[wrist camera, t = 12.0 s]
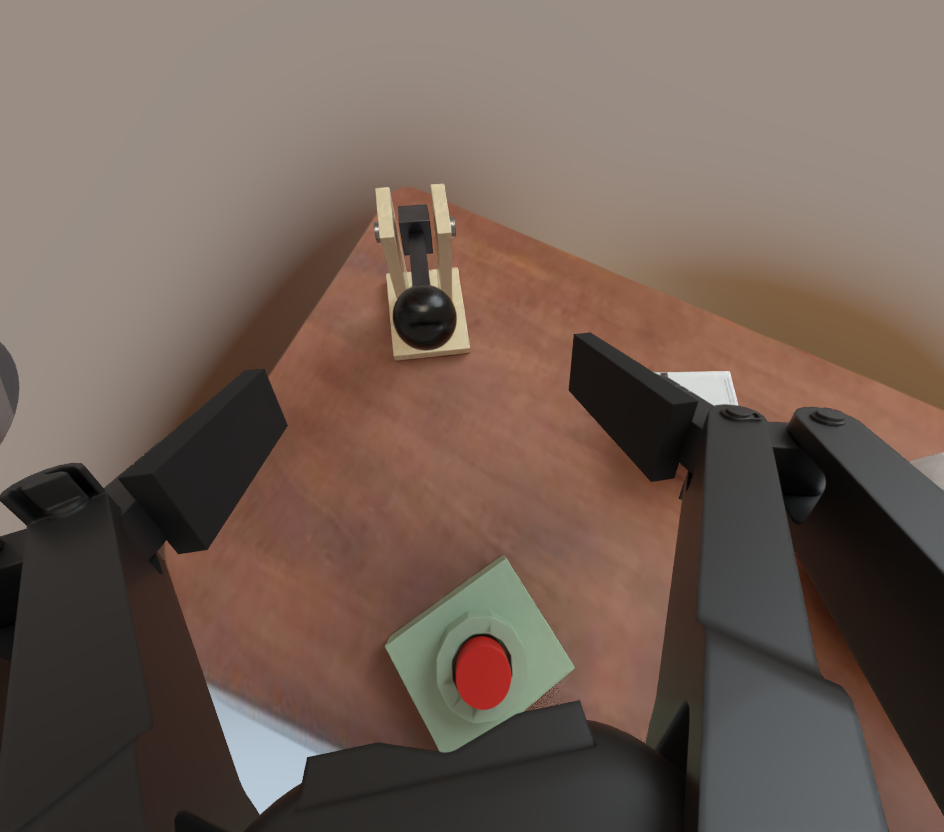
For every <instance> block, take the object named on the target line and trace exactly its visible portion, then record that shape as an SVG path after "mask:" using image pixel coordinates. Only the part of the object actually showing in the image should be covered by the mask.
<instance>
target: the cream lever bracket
mask: <svg viewBox="0 0 944 832" xmlns="http://www.w3.org/2000/svg"><path fill="white" fill-rule="evenodd" d="M375 189H376V202H377V213H378V222H374V231H375V236H376V240H377V243H381V245H382V248H383V252H384V255H385V259H386V262H387V266H388V270H389V274H386V279H387V290H388V301H389V312H390V323H391V334H392V345H393V356H394V358H395V361H398V360H408V359H417V358H426V357H435V356H445V355H454V354H463V353H470V344H469V338H468V331H467V325H466V318H465V312H464V305H463V299H462V292H461V286H460V279H459V273H458V268H452V238H454V237H456V228H455V219H454V217H449V212H448V206H447V199H446V193H445V186H444V184H432V185H431V197H432V210H433V223H434V237H435V250H436V264H437V269H436V270H429V277H430V285H432V286H435V287H437V288H439V289H441V290H442V291H444V292H445V293H446V294H447V295H448V296H449V297H450V299H451V300H452V302H453V304H454V306H455V309H456V314H457V324H456V328H455V331H454V333H453V335H452V337H451V338H450V340H449V341H448V342H447V343H446V344H444V345H443V346H442V347H440V348H438V349H435V350H430V351H422V350H417V349H414V348H412V347H410V346H409V345H407V344H406V343H404V342H403V341H402V340H401V338H400V337H399V336H398V334H397V332H396V330H395V328H394V324H393V308H394V305H395V302H396V301H397V299H398V297H399V296H400V295H401V294H402V293H403V292H404V291H405V290H406V289H408V288H410V287H412V276H411V272H407V271H406V267H405V262H404V257H403V252H402V247H401V242H400V237H399V233H398V228H397V223H396V218H395V213H394V208H393V203H392V199H391V194H390V189H389V187H385V188H375Z"/></svg>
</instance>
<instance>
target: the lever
mask: <svg viewBox="0 0 944 832" xmlns="http://www.w3.org/2000/svg"><path fill="white" fill-rule="evenodd" d="M398 215H399V227H400V233H401V239H402V245H403V250H404V255H405V256H406V255H410V263H411V276H412V287H410V288H408V289H406V290H405V291H404V292H403V293H402V294H401V295H400V296H399V297H398V299H397V301H396V302H395V305H394V308H393V324H394V328H395V330H396V332H397V334H398V336H399V337H400V338H401V340H402V341H403V342H404V343H406V344H407V345H409V346H410V347H412V348H414V349H417V350H422V351H430V350H435V349H438V348H440V347H442V346H443V345H444V344H446V343H447V342H448V341H449V340H450V338H451V337H452V335H453V333H454V331H455V328H456V324H457V314H456V309H455V306H454V304H453V302H452V300H451V299H450V297H449V296H448V295H447V294H446V293H445V292H444V291H442V290H441V289H439V288H437V287H435V286H432V285H430V277H429V270H428V262H427V255H426V254H430V253H433V248H432V238H431V228H430V219H429V213H428V207H427V205H411V206H399V207H398Z"/></svg>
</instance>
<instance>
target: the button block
mask: <svg viewBox="0 0 944 832" xmlns="http://www.w3.org/2000/svg"><path fill="white" fill-rule="evenodd" d="M479 636H486V637H490V638H492V639H494V640H495V641H497V642H498V643H499V644H500V645H501V646H502V648H503V650H504V651H505V654H506V657H507V660H508V662H509V665H510V669H511V684H510V688H509V691H508V693H507V695H506V697H505V698H504V700H503V701H502V702H501V703H500V704H498V705H497V706H495V707H494V708H491V709H487V710H480V709H475V708H473V707H471V706H470V705H468V704H467V703H466V702H465V701H464V700H463V699H462V697H461V696H460V694H459V692H458V689H457V685H456V660H457V656H458V653H459V651H460V649H461V648H462V646H463V645H464V644H465V643H466V642H467V641H469V640H470V639H472V638H475V637H479ZM385 648H386V650H387V652H388V654H389V656H390V658H391V660H392V662H393V664H394V665H395V667H396V669H397V671H398V673H399V675H400V677H401V679H402V681H403V683H404V685H405V686H406V688H407V690H408V692H409V694H410V696H411V698H412V700H413V702H414V704H415V706H416V707H417V709H418V711H419V713H420V715H421V717H422V719H423V721H424V723H425V725H426V727H427V728H428V730H429V732H430V734H431V736H432V738H433V740H434V742H435V744H436V746H437V748H438V749H439V751H440V752H451V751H454V750H456V749H458V748H460V747H461V746H463V745H465V744H466V743H468V742H470V741H471V740H473V739H475V738H476V737H478V736H480V735H481V734H483V733H485V732H486V731H488V730H490V729H491V728H493V727H495V726H496V725H498V724H500V723H501V722H503V721H505V720H506V719H508V718H510V717H512V716H513V715H515V714H517V713H521V712H523V711H524V710H526V709H527V708H528V707H529V706H530V705H532V704H533V703H534V702H535V701H536V700H537V699H539V698H540V697H541V696H542V695H543V694H545V693H546V692H547V691H548V690H549V689H551V688H552V687H553V686H554V685H555V684H557V683H558V682H559V681H560V680H561V679H563V678H564V677H565V676H566V675H567V674H568V673H570V672H571V671H572V670H573V669H574V668H575V666H574V665H573V663H572V662H571V660H570V659H569V657H568V655H567V654H566V652H565V651H564V649H563V647H562V646H561V644H560V643H559V641H558V639H557V638H556V636H555V635H554V633H553V631H552V630H551V628H550V627H549V625H548V624H547V622H546V620H545V619H544V617H543V616H542V614H541V612H540V611H539V609H538V608H537V606H536V604H535V603H534V601H533V600H532V598H531V597H530V595H529V593H528V592H527V590H526V589H525V587H524V585H523V584H522V582H521V581H520V579H519V577H518V576H517V574H516V573H515V571H514V570H513V568H512V566H511V565H510V563H509V562H508V560H507V559H506V557H505V556H504V555H501V556H500V557H498V558H497V559H496V560H494V561H493V562H492V563H490V564H489V565H487V566H486V567H485V568H483V569H482V570H480V571H479V572H478V573H476V574H475V575H474V576H472V577H471V578H469V579H468V580H467V581H465V582H464V583H462V584H461V585H460V586H458V587H457V588H456V589H454V590H453V591H451V592H450V593H449V594H447V595H446V596H444V597H443V598H442V599H440V600H439V601H438V602H436V603H435V604H433V605H432V606H431V607H429V608H428V609H426V610H425V611H424V612H422V613H421V614H420V615H418V616H417V617H415V618H414V619H413V620H411V621H410V622H409V623H407V624H406V625H404V626H403V627H402V628H400V629H399V630H397V631H396V632H395V633H393V634H392V635H391V636H390V637H389V639H388V641H387V643H386V645H385Z"/></svg>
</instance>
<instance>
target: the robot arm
mask: <svg viewBox="0 0 944 832" xmlns="http://www.w3.org/2000/svg"><path fill="white" fill-rule="evenodd" d="M569 391H570V392H571V393H572V395H573V396H574V397H575V398H576V399H577V400H578V401H579V402H580V403H581V405H582V406H583V407H584V408H585V409H586V410H587V411H588V412H589V413H590V415H591V416H592V417H593V418H594V419H595V420H596V421H597V422H598V423H599V425H600V426H601V427H602V428H603V429H604V430H605V431H606V432H607V433H608V435H609V436H610V437H611V438H612V439H613V440H614V441H615V442H616V443H617V445H618V446H619V447H620V448H621V449H622V450H623V451H624V452H625V453H626V455H627V456H628V457H629V458H630V459H631V460H632V461H633V462H634V463H635V464H636V466H637V467H638V468H639V469H640V470H641V471H642V472H643V473H644V474H645V476H646V477H647V478H648V479H649V480H650V481H651V482H653V481H660V480H666V479H673V478H674V477H675V474H676V471H677V468H678V464H679V463H681V464H682V465H683V466H684V467H685V468H686V469H687V470H688V472H687V475H686V478H685V481H684V484H683V487H682V490H681V493H680V496H679V499H682V505H681V513H680V520H679V528H678V536H677V543H676V551H675V559H674V566H673V574H672V582H671V589H670V597H669V604H668V612H667V620H666V627H665V635H664V643H663V650H662V658H661V666H660V673H659V681H658V688H657V695H656V700H655V705H654V709H653V713H652V717H651V720H650V724H649V729H648V733H647V738H646V744H645V743H644V742H642V741H640V740H639V739H637V738H635V737H634V736H632V735H630V734H628V733H626V732H624V731H621V730H619V729H617V728H615V727H613V726H609V725H606V724H603V723H599V722H596V721H590V720H586V718H585V715H584V712H583V709H582V706H581V703H580V700H579V701H574V702H569V703H564V704H560V705H555V706H550V707H545V708H541V709H536V710H531V711H526V712H521V713H517V714H515V715H513V716H512V717H510V718H508V719H506V720H505V721H503V722H501V723H500V724H498V725H496V726H495V727H493V728H491V729H490V730H488V731H486V732H485V733H483V734H481V735H480V736H478V737H476V738H475V739H473V740H471V741H470V742H468V743H466V744H465V745H463V746H461V747H460V748H458V749H456V750H454V751H451V752H437V751H430V750H424V749H417V748H410V747H404V746H397V745H390V744H384V743H373V744H368V745H364V746H359V747H354V748H349V749H344V750H340V751H335V752H330V753H325V754H321V755H316V756H312V757H307V761H306V766H305V770H304V776H303V780H302V783H301V784H299V785H298V786H296V787H295V788H293V789H292V790H290V791H289V792H287V793H286V794H285V795H283V796H282V797H281V798H279V799H278V800H276V801H275V802H274V803H273V804H272V805H271V806H270V807H268V809H266V810H265V811H264V812H263V813H262V814H260V815H259V813H258V811H257V810H256V808H255V807H254V805H253V804H252V802H251V801H250V799H249V798H248V796H247V795H246V793H245V791H244V789H243V787H242V785H241V783H240V780H239V778H238V775H237V772H236V769H235V766H234V763H233V760H232V757H231V754H230V752H229V748H228V745H227V743H226V740H225V737H224V734H223V731H222V728H221V725H220V722H219V719H218V717H217V713H216V710H215V707H214V705H213V701H212V698H211V696H210V693H209V690H208V687H207V684H206V681H205V678H204V675H203V672H202V669H201V666H200V663H199V660H198V657H197V654H196V652H195V649H194V646H193V643H192V640H191V637H190V634H189V631H188V628H187V625H186V622H185V619H184V616H183V613H182V611H181V608H180V605H179V602H178V599H177V596H176V593H175V590H174V587H173V584H172V581H171V578H170V575H169V572H168V570H167V567H166V564H165V561H164V560H163V558H162V557H161V556H160V555H159V554H158V552H157V551H158V550H159V548H160V547H161V546H162V545H163V543H164V542H165V541H166V540H167V541H168V542H169V543H170V545H171V546H172V547H173V548H174V550H175V551H176V552H177V553H178V554H183V553H190V552H196V551H203V550H208V548H209V547H210V545H211V544H212V542H213V540H214V539H215V537H216V536H217V534H218V533H219V531H220V530H221V528H222V526H223V525H224V523H225V522H226V520H227V519H228V517H229V516H230V514H231V513H232V511H233V509H234V508H235V506H236V505H237V503H238V502H239V500H240V499H241V497H242V496H243V494H244V492H245V491H246V489H247V488H248V486H249V485H250V483H251V482H252V480H253V479H254V477H255V475H256V474H257V472H258V471H259V469H260V468H261V466H262V465H263V463H264V462H265V460H266V458H267V457H268V455H269V454H270V452H271V451H272V449H273V448H274V446H275V445H276V443H277V441H278V440H279V438H280V437H281V435H282V434H283V432H284V431H285V429H286V427H287V426H288V425H287V423H286V420H285V418H284V415H283V413H282V410H281V408H280V406H279V403H278V401H277V398H276V396H275V393H274V391H273V389H272V386H271V384H270V381H269V379H268V377H267V374H266V372H265V369H255V370H246V371H244V372H242V373H241V374H240V375H239V376H238V377H237V378H235V379H234V380H233V381H232V382H231V383H229V384H228V385H227V386H226V387H225V388H223V389H222V390H221V391H220V392H219V393H218V394H216V395H215V396H214V397H213V398H212V399H211V400H209V401H208V402H207V403H206V404H205V405H203V406H202V407H201V408H200V409H199V410H197V411H196V412H195V413H194V414H193V415H192V416H190V417H189V418H188V419H187V420H186V421H185V422H183V423H182V424H181V425H180V426H179V427H177V428H176V429H175V430H174V431H173V432H172V433H170V434H169V435H168V436H167V437H166V438H164V439H163V440H162V441H161V442H159V443H157V444H156V445H155V446H154V447H152V448H151V449H150V450H149V451H148V452H147V453H145V455H144V456H142V457H141V458H139V459H138V460H137V461H136V462H135V463H134V465H131V466H130V467H129V468H127V469H126V470H125V471H124V472H123V473H121V474H120V475H119V476H118V477H117V478H116V479H114V480H113V481H112V482H111V483H110V484H108V485H107V486H106V487H105V488H103V487H102V486H101V485H100V484H99V482H98V481H97V480H96V479H95V478H94V476H93V475H92V474H91V473H90V472H89V471H88V469H87V468H86V467H85V466H84V465H83V464H82V463H69V464H64V465H59V466H56V467H53V468H49V469H46V470H43V471H41V472H38V473H35V474H33V475H31V476H28V477H26V478H24V479H22V480H21V481H19V482H17V483H15V484H13V485H12V486H10V487H9V488H7V489H6V490H5V491H3V492H2V493H1V495H0V501H1V502H2V503H3V504H4V505H5V506H6V507H7V508H8V509H9V510H10V511H12V512H13V513H14V514H15V515H16V516H17V517H18V518H19V519H20V520H21V521H22V522H23V523H25V524H26V525H27V529H24V530H20V531H17V532H14V533H10V534H7V535H4V536H0V832H889V830H888V826H887V822H886V819H885V815H884V811H883V807H882V803H881V800H880V796H879V792H878V788H877V785H876V781H875V777H874V773H873V770H872V766H871V762H870V758H869V754H868V751H867V747H866V743H865V739H864V736H863V732H862V728H861V724H860V721H859V717H858V715H857V712H856V710H855V707H854V704H853V702H852V699H851V698H850V696H849V695H848V694H847V693H846V691H845V690H844V689H843V687H842V686H840V685H838V684H836V683H833V682H831V681H829V680H827V679H824V677H823V676H822V675H821V673H820V670H819V667H818V664H817V660H816V655H815V650H814V645H813V641H812V636H811V631H810V626H809V621H808V616H807V612H806V607H805V602H804V597H803V592H802V587H801V582H800V578H799V573H798V568H797V563H796V558H795V553H794V550H795V552H796V554H797V556H798V557H799V559H800V561H801V563H802V565H803V566H804V568H805V570H806V572H807V573H808V575H809V577H810V579H811V581H812V582H813V584H814V586H815V588H816V590H817V591H818V593H819V595H820V597H821V598H822V600H823V602H824V604H825V606H826V607H827V609H828V611H829V613H830V614H831V616H832V618H833V620H834V622H835V623H836V625H837V627H838V629H839V630H840V632H841V634H842V636H843V638H844V639H845V641H846V643H847V645H848V646H849V648H850V650H851V652H852V654H853V655H854V657H855V659H856V661H857V662H858V664H859V666H860V668H861V670H862V671H863V673H864V675H865V677H866V678H867V680H868V682H869V684H870V686H871V687H872V689H873V691H874V693H875V694H876V696H877V698H878V700H879V702H880V703H881V705H882V707H883V709H884V710H885V712H886V714H887V716H888V718H889V719H890V721H891V723H892V725H893V727H894V728H895V730H896V732H897V734H898V735H899V737H900V739H901V741H902V743H903V744H904V746H905V748H906V750H907V751H908V753H909V755H910V757H911V759H912V760H913V762H914V764H915V766H916V767H917V769H918V771H919V773H920V775H921V776H922V778H923V780H924V782H925V783H926V785H927V787H928V789H929V791H930V792H931V794H932V796H933V798H934V799H935V801H936V803H937V805H938V807H939V808H940V810H941V812H942V814H943V815H944V491H943V490H942V489H941V488H940V487H938V486H937V485H936V484H935V483H934V482H932V481H931V480H930V479H929V478H928V477H926V476H925V475H924V474H923V473H922V472H920V471H919V470H918V469H917V468H915V467H914V466H913V465H912V464H911V463H909V462H908V461H907V460H906V459H905V458H903V457H902V456H901V455H900V454H899V453H897V452H896V451H895V450H894V449H892V448H891V447H890V446H889V445H888V444H886V443H885V442H884V441H883V440H882V439H880V438H879V437H878V436H877V435H876V434H874V433H873V432H872V431H871V430H869V429H868V428H867V427H866V426H865V425H863V424H862V423H861V422H860V421H858V420H856V419H855V418H853V417H851V416H849V415H846V414H843V413H842V412H841V411H838V410H832V409H830V408H818V407H803V408H798V409H797V410H796V411H795V412H794V414H793V416H792V418H791V420H790V422H789V423H782V422H767V420H766V419H765V417H764V416H763V415H761V414H760V413H758V412H756V411H754V410H751V409H749V408H746V407H741V406H737V405H729V404H721V405H715V406H714V405H712V404H711V403H709V402H708V401H706V400H704V399H703V398H701V397H699V396H698V395H696V394H695V393H693V392H691V391H689V390H688V389H686V388H685V387H683V386H680V384H678V383H677V382H675V381H673V380H672V379H670V378H667V377H665V376H662V375H659V374H656V373H654V372H652V371H650V370H649V369H647V368H646V367H644V366H643V365H641V364H639V363H638V362H636V361H635V360H633V359H631V358H630V357H628V356H627V355H625V354H624V353H622V352H620V351H619V350H617V349H616V348H614V347H613V346H611V345H609V344H608V343H606V342H605V341H603V340H601V339H600V338H598V337H597V336H595V335H594V334H592V333H582V334H574V338H573V349H572V360H571V371H570V382H569Z"/></svg>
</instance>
